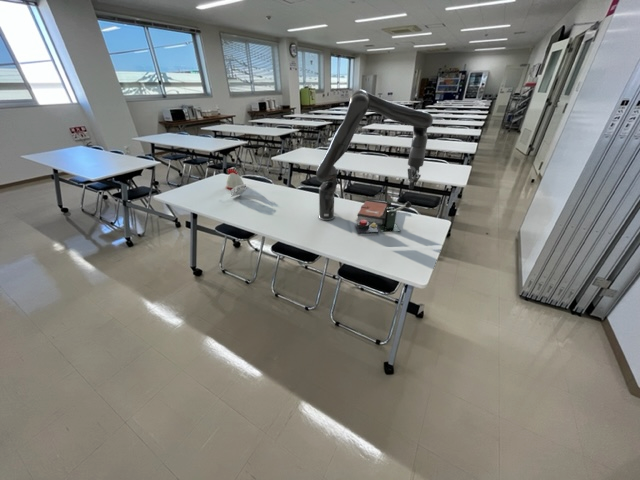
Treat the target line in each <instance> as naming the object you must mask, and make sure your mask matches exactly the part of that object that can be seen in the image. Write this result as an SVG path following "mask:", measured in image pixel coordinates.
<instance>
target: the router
mask: <svg viewBox="0 0 640 480" xmlns="http://www.w3.org/2000/svg"><path fill="white" fill-rule="evenodd" d="M247 189H248V187H247V183H246V184H245V183H244V184H243V185H239V186H236V187H235V188H233V189H232V190H229V191H228V194H231V196H230V198H233V197H236V196H240V195H242V194H243V193H244V192H245V191H246V190H247Z"/></svg>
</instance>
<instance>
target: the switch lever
mask: <svg viewBox="0 0 640 480" xmlns="http://www.w3.org/2000/svg"><path fill="white" fill-rule="evenodd" d="M405 208H406V209H410V208H412V203H411V202H410V201H406V202H405V203H404V204H403V205H401V206H399V207H397V208H394V210H396V211H397V212H398V211H401V210H403V209H405ZM390 210H393V209H390ZM390 210H388V211H390Z"/></svg>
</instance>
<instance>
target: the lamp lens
mask: <svg viewBox="0 0 640 480" xmlns="http://www.w3.org/2000/svg"><path fill="white" fill-rule="evenodd" d="M370 224H371V225H370V227H371V228H377V229H378V224H377V223H375V222H371V223H370Z"/></svg>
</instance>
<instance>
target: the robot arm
mask: <svg viewBox="0 0 640 480" xmlns="http://www.w3.org/2000/svg"><path fill="white" fill-rule="evenodd" d="M368 111H372V112H375V113H378V114H380V115H381V116H383V117H385V118H386V119H388V120H391V121H393V122H396V123H400V124H403V125H409V126H411V127H412V139H411V146H410V149H409V154H408V160H407V166H409V168H407V180H408V181H409V183H408V189H409V190H414V189H415V183H418V181H419V180H420V179H421V175H422V174H420V168H421V167H423V166H424V162H425V156H426V153H427V152H426V149H427V143H428V138H429V137H428V134H427V133H428V129H429V128H430V127H431V126H432V125H433V123H434V118H433V116H432V114H431V113H430V112H428V111H427V112H426V111H422V110H416V109H414V108H411V107H408V106H406V105H401V104H398V103H395V102H391V101H388V100H386V99H383V98H381V97H378V96H376V95H374V94H371V93H369V92H368V91H366V90H363V89H356V90H355V91H353V92H352V94H350V97H349V103H348V107H347V110H346V113H345V116H344V119H343V121H342V122H341V124H340V125H339V127H337V129H336V131H335V132H334V135H333V137H332V139H331V141H330V144H329V146H328V148H327V150H326V151H325V152H326V153H325V154H324V157H323V159H322V160H321V162H320V164H319V165H318V167H317V168H316V172H315V177H316V180H317V181H318V182H320V183H322V184H321V185H320V186H319V187H318V211H319V212H318V218H319V219H320V220H322V221H331V220H334V218H335V189H336V187H337V177H338V172H337V168H336V166H335V164H336V163H338V161H339V160H340V159H341V158H342V157H343V156H344V155H345V153H346V152H347V150H348V148H349V146H350V145H351V143H352V140H353V138H354V136H355V133H356V130H357V128H358V127H359V125H360V123H361V121H362V120H363V119H364V117H365V115H366V114H367V112H368Z"/></svg>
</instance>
